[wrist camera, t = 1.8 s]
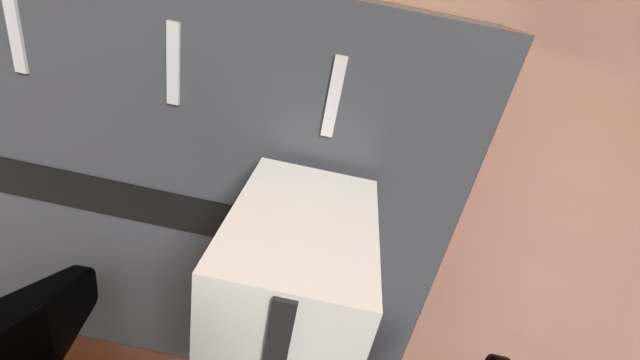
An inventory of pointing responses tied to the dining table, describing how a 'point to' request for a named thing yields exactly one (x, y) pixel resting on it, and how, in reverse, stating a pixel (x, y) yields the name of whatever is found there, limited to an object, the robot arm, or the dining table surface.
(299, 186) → the fader knob
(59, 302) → the robot arm
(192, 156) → the fader console
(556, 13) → the dining table surface
